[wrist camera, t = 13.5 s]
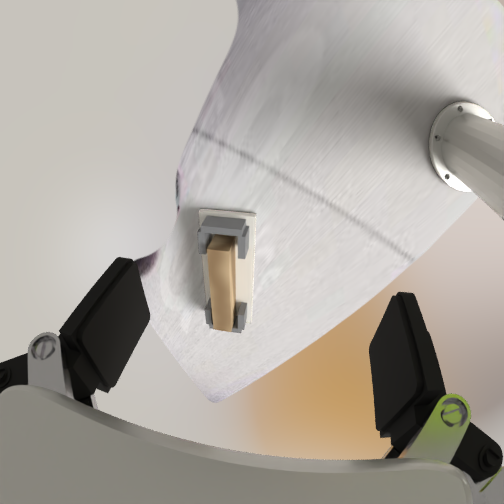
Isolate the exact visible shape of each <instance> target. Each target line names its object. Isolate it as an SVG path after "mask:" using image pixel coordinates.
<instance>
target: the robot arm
mask: <svg viewBox="0 0 504 504" xmlns="http://www.w3.org/2000/svg"><path fill="white" fill-rule="evenodd" d="M435 136H436V138H435ZM429 151H430V157H431V161H432V164H433V166H434V169H435V171H436V172H437V174H438V175H439V177H440V178H441V179H442V180H443V181H444V182H445V183H446V184H448V185H449V186H450V187H452V188H454V189H456V190H459V191H464V192H470V191H473V192H474V193H475V194H476V195H477V196H478V197H479V198H481V199H482V200H483V201H484V202H485V203H486V204H487V205H488V206H489V207H490V208H491V209H492V210H494V211H495V212H496V213H497V214H498V215H499V216H500V217H501V218H502V219H503V220H504V125H502V124H499V123H496V122H495V121H494V119H493V118H492V116H491V115H490V114H489V113H488V112H487V111H486V110H485V109H484V108H482V107H481V106H479V105H477V104H474V103H471V102H465V101H462V102H455V103H453V104H450V105H448V106H447V107H445V108H444V109H443V110H442V111H441V112H440V113H439V114H438V116H437V118H436V119H435V121H434V123H433V126H432V128H431V132H430V137H429ZM445 174H446V175H445ZM149 320H150V312H149V308H148V305H147V301H146V297H145V294H144V290H143V286H142V282H141V278H140V274H139V270H138V266H137V264H135V263H134V261H133V260H132V259H128V258H121V257H118V258H116V259H115V261H114V262H113V263H112V264H111V265H110V266H109V268H108V269H107V270H106V271H105V272H104V274H103V275H102V276H101V277H100V279H99V280H98V281H97V282H96V283H95V285H94V286H93V287H92V288H91V289H90V291H89V292H88V293H87V295H86V296H85V297H84V298H83V300H82V301H81V302H80V304H79V305H78V306H77V308H76V309H75V310H74V312H73V313H72V314H71V315H70V317H69V318H68V320H67V321H66V322H65V323H64V325H63V326H62V328H61V329H60V330H59V332H60V335H59V336H57V335H56V334H54V333H50V332H46V333H42V334H40V335H38V336H37V337H35V338H34V339H33V340H32V341H31V343H30V345H29V347H28V353H26V354H24V355H21V356H18V357H15V358H13V359H10V360H7V361H4V362H1V363H0V504H504V466H503V467H502V466H501V464H502V460H503V455H502V450H501V448H500V446H499V445H498V444H497V443H496V442H495V441H494V440H492V439H491V438H490V437H489V436H488V435H486V434H485V433H484V432H483V431H481V430H480V429H479V428H478V427H476V426H475V425H474V424H473V423H471V422H470V419H471V410H470V407H469V405H468V403H467V401H466V400H465V399H464V398H463V397H461V396H459V395H457V394H452V393H451V394H446V391H445V387H444V382H443V378H442V375H441V370H440V367H439V363H438V359H437V356H436V353H435V349H434V346H433V343H432V340H431V336H430V334H429V332H428V331H427V329H426V326H425V323H424V320H423V317H422V314H421V311H420V308H419V306H418V303H417V300H416V297H415V295H414V294H413V293H407V292H398V293H397V295H396V296H392V298H391V300H390V302H389V305H388V307H387V309H386V311H385V314H384V316H383V318H382V320H381V322H380V325H379V327H378V329H377V331H376V333H375V335H374V337H373V339H372V341H371V343H370V347H369V356H370V364H371V373H372V383H373V394H374V406H375V422H376V429H377V430H378V431H380V438H385V437H391V447H390V448H389V449H388V451H387V452H386V453H385V455H384V456H383V457H382V458H381V459H373V460H318V459H300V458H288V457H278V456H269V455H261V454H254V453H247V452H240V451H235V450H230V449H224V448H219V447H214V446H209V445H205V444H201V443H196V442H193V441H189V440H185V439H181V438H177V437H174V436H170V435H167V434H163V433H160V432H157V431H153V430H151V429H147V428H144V427H141V426H138V425H135V424H133V423H130V422H127V421H125V420H122V419H119V418H117V417H114V416H111V415H109V414H107V413H104V412H102V411H99V410H98V407H97V404H96V400H95V395H94V392H95V390H96V388H97V389H99V390H101V391H104V392H107V393H108V392H109V390H110V388H111V387H114V386H115V385H116V383H117V381H118V379H119V377H120V375H121V373H122V371H123V369H124V367H125V366H126V364H127V362H128V360H129V358H130V356H131V354H132V352H133V350H134V348H135V347H136V345H137V343H138V341H139V339H140V337H141V335H142V333H143V332H144V330H145V328H146V326H147V324H148V323H149Z"/></svg>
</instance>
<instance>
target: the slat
mask: <svg viewBox="0 0 504 504" xmlns="http://www.w3.org/2000/svg"><path fill="white" fill-rule="evenodd" d="M207 257H208V271H209V283H210V295H211V307H212V318H213V328H214V329H215V330H221V331H228V332H231V331H232V327H233V324H234V320H235V317H236V257H235V236H228V235H219V234H215V235H214V237H213V239H212V241H211V242H210V244H209V246H208V248H207Z"/></svg>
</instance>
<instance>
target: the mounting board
mask: <svg viewBox="0 0 504 504" xmlns="http://www.w3.org/2000/svg"><path fill="white" fill-rule="evenodd" d="M199 226H200V229H199V230H198V232H197V233H198V246H199V254H202V265H203V276H204V287H205V297H206V308H205V316H206V324H209V326H210V328H212V329H214V328H213V318H212V307H211V295H210V283H209V271H208V257H207V248H208V246H209V244H210V242H211V241H212V239H213V237H214V235H215V234H219V235H228V236H235V257H236V317H235V320H234V324H233V327H232V331H231V332H236V333H241V331H242V330H244V327H245V323H251V321H252V306H253V283H254V259H255V235H256V214H255V213H245V212H234V211H223V210H212V209H200V210H199Z"/></svg>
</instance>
